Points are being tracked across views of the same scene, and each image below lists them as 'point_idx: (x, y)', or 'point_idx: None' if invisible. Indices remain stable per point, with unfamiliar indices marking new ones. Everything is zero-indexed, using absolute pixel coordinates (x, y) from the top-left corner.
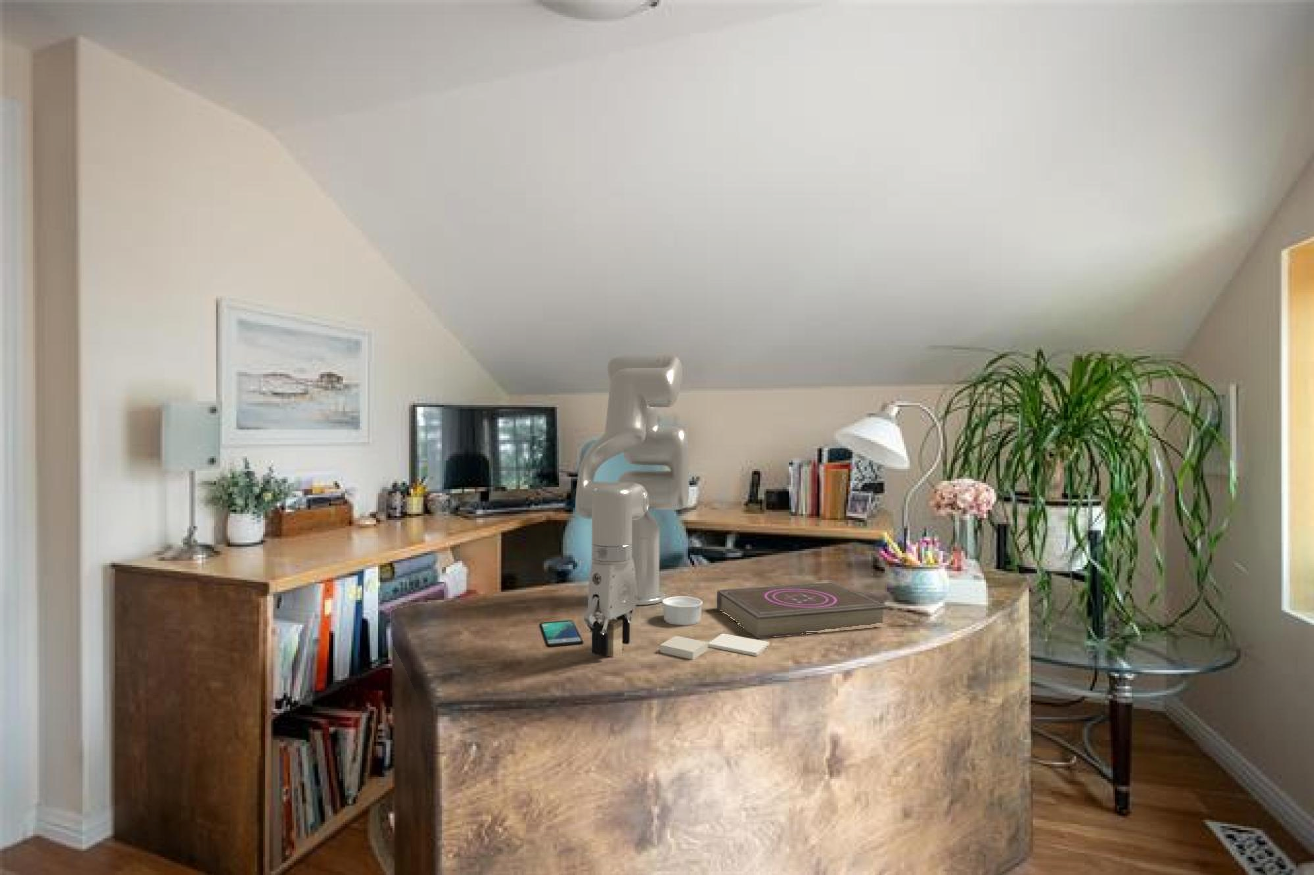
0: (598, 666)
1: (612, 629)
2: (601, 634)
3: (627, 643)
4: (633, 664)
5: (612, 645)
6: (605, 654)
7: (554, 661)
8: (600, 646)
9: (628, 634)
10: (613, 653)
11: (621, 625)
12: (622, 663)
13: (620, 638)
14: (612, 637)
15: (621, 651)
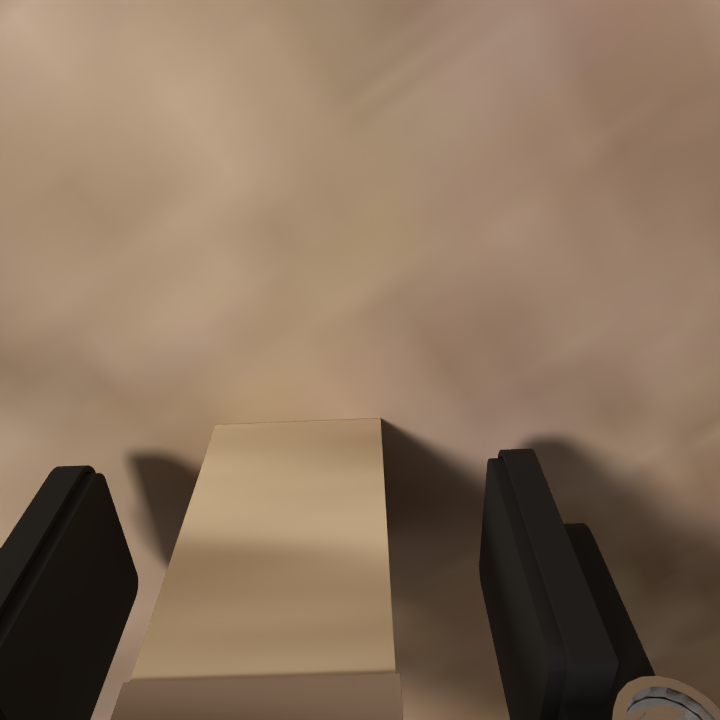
0: (669, 393)
1: (400, 702)
2: (678, 699)
3: (89, 469)
4: (454, 117)
5: (384, 510)
6: (532, 460)
7: (684, 668)
8: (601, 559)
9: (33, 541)
10: (381, 440)
11: (155, 703)
12: (489, 248)
13: (222, 538)
14: (388, 591)
15: (227, 430)
